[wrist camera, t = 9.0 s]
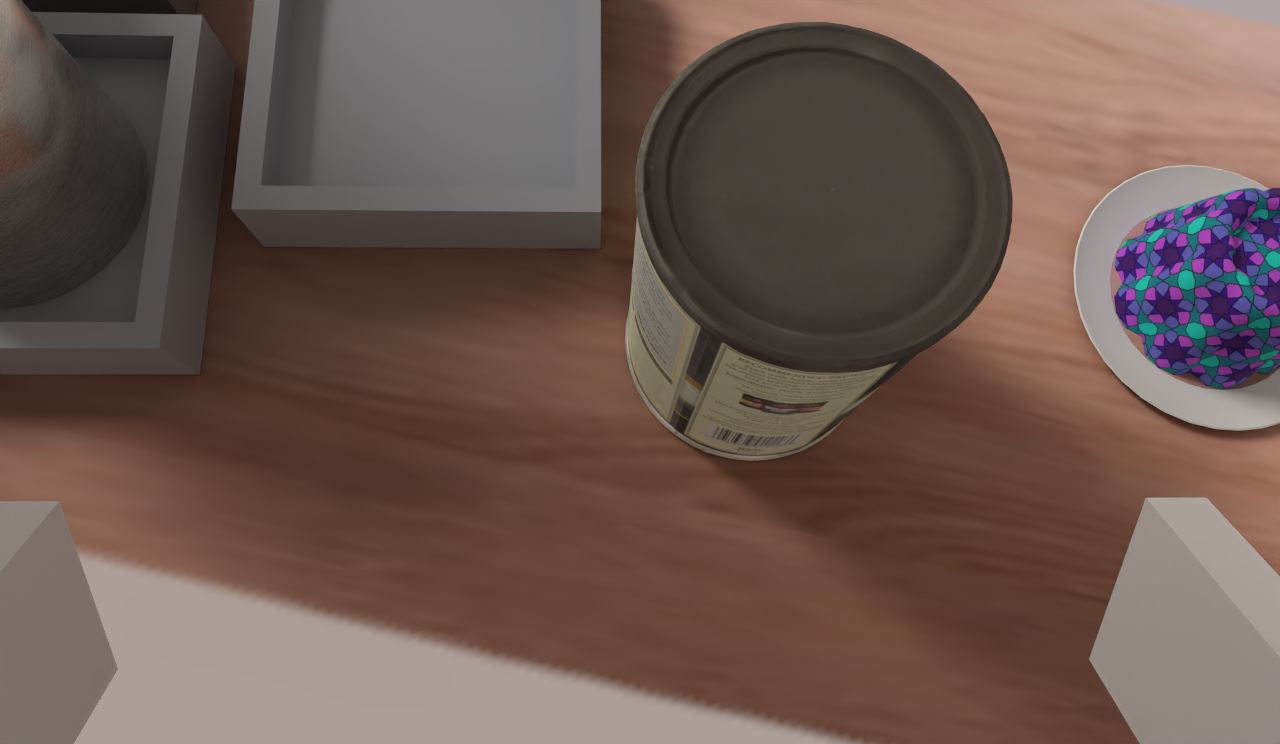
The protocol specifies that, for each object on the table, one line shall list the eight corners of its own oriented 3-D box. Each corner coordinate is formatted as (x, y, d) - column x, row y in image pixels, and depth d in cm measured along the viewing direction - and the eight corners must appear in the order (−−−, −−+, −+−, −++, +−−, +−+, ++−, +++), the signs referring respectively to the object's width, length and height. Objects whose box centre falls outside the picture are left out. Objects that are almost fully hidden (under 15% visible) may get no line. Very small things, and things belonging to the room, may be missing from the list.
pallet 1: (-95, 61, 40) (-160, 8, 37) (235, 66, 41) (202, 14, 38) (-165, 374, 37) (-244, 348, 33) (200, 374, 37) (159, 348, 34)
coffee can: (808, 194, 41) (915, -24, 27) (909, 411, 38) (1081, 290, 25) (586, 269, 39) (580, 79, 26) (675, 499, 37) (721, 424, 23)
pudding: (1220, 493, 38) (1316, 472, 33) (1008, 283, 40) (1067, 233, 35) (1391, 313, 41) (1505, 268, 36) (1183, 124, 43) (1262, 56, 38)
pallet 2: (292, -39, 43) (265, -98, 39) (600, -33, 43) (600, -91, 40) (263, 246, 39) (231, 209, 35) (600, 248, 39) (601, 212, 36)
